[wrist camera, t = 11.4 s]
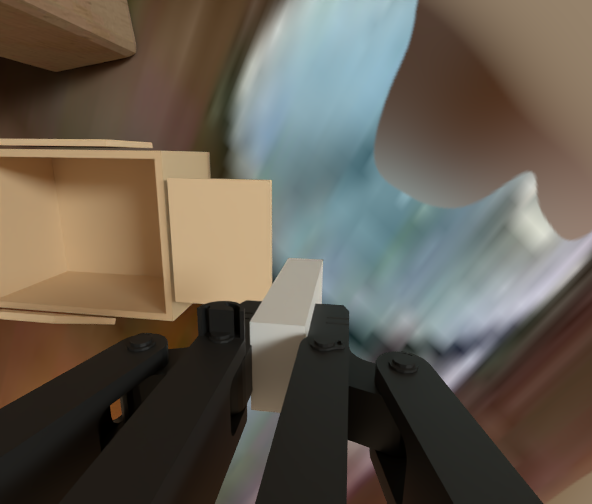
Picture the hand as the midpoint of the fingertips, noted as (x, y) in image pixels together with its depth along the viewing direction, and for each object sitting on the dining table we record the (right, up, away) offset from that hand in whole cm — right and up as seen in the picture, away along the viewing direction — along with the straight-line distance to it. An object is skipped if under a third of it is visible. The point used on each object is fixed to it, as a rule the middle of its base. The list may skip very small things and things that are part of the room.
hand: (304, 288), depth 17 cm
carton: (-18, +5, +25) cm, 31 cm away
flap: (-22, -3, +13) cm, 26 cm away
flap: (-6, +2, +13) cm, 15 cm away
